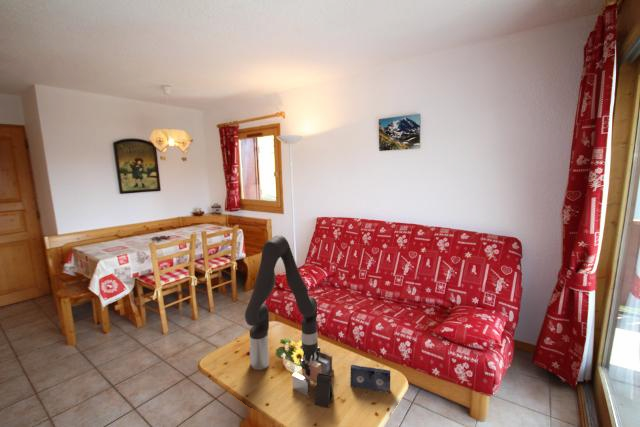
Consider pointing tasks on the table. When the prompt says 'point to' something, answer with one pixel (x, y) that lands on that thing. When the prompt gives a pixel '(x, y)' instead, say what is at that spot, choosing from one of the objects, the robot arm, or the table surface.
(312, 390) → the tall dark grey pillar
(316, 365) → the book
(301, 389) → the grey flat box
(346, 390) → the table surface
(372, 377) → the vhs cassette tape
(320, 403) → the door stopper
